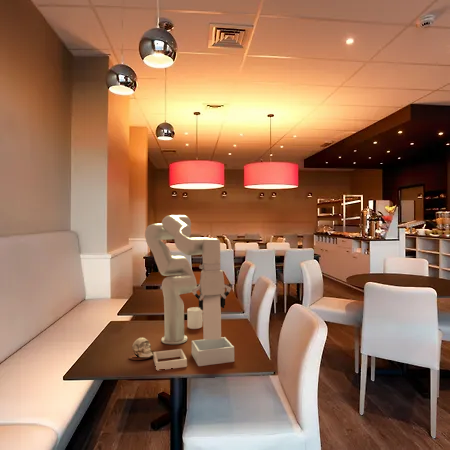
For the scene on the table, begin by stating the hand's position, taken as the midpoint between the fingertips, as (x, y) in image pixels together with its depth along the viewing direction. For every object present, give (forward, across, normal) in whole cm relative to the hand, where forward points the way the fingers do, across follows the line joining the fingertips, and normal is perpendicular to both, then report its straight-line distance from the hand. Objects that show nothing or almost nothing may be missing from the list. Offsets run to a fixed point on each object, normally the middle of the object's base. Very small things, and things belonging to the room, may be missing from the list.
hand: (212, 308), depth 148 cm
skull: (+21, -28, +12) cm, 37 cm away
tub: (+21, 0, 0) cm, 21 cm away
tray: (+21, -18, +1) cm, 28 cm away
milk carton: (+12, 0, 0) cm, 12 cm away
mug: (+21, +4, +45) cm, 50 cm away
